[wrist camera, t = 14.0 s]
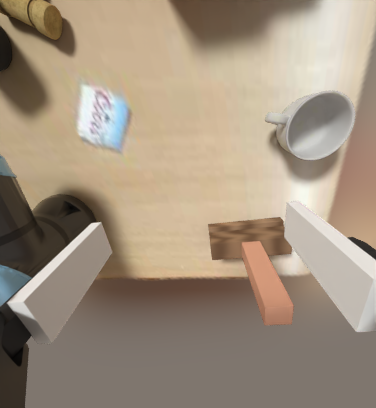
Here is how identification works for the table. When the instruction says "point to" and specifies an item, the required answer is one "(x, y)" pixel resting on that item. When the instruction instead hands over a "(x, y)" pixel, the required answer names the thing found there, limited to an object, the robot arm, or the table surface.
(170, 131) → the table surface
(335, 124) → the teacup
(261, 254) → the rod
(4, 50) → the pen holder
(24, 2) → the gavel
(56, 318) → the robot arm
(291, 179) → the table surface
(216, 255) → the brown wooden block
